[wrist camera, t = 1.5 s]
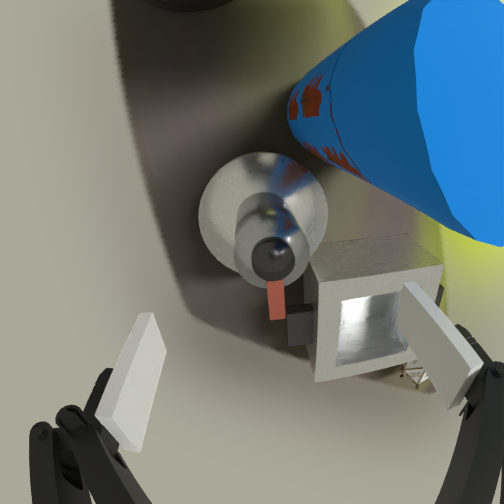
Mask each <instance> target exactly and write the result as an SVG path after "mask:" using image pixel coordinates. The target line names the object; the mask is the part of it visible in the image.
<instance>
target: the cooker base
mask: <svg viewBox="0 0 504 504" xmlns="http://www.w3.org/2000/svg"><path fill="white" fill-rule="evenodd" d="M443 265H444V264H443V263H442V262H441V261H440V260H438V259H437V258H436V257H435V256H434V255H433V254H431V253H430V252H429V251H428V250H426V249H425V248H424V247H423V246H422V245H420V244H419V243H418V242H417V241H415V240H414V239H413V238H412V237H410V236H409V235H408V234H405V235H396V236H386V237H377V238H367V239H358V240H349V241H339V242H330V243H320V245H319V246H318V248H317V249H316V251H315V252H314V253H313V254H312V256H311V257H310V258H309V262H308V265H307V267H306V269H305V271H304V272H303V304H300V305H292V306H285V311H286V331H287V342H288V347H292V346H300V345H306V349H307V353H308V357H309V361H310V365H311V369H312V373H313V377H314V382H321V381H327V380H333V379H337V378H343V377H348V376H353V375H358V374H363V373H367V372H372V371H376V370H380V369H384V368H388V367H392V366H396V365H400V364H403V363H407V362H410V361H414V360H417V357H416V356H415V354H414V352H413V351H412V349H411V348H410V346H409V344H408V343H407V341H406V340H405V338H404V337H403V335H402V333H401V332H400V330H399V329H398V327H397V326H396V324H395V323H396V318H397V313H398V308H399V303H400V298H401V292H402V287H403V283H407V282H413V281H415V282H416V283H417V284H418V285H419V286H420V288H421V289H422V290H423V291H424V292H425V293H426V294H427V295H428V296H429V297H430V298H431V300H432V301H433V302H434V303H435V304H436V305H437V306H438V307H439V305H440V302H441V298H442V294H443V290H444V287H443V286H442V285H441V284H440V279H441V275H442V270H443Z"/></svg>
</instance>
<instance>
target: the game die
mask: <svg viewBox="0 0 504 504" xmlns="http://www.w3.org/2000/svg"><path fill="white" fill-rule="evenodd" d="M402 371H403V374H402V375H400V377H403V376H405V377H406V378H408V379H409V380H411V381H412V382H414V383H415V384H416V389H418V388H419V386H418V385H419V384H421V383H422V382H424V381H425V380H427V379H429V377H428V375H427V374H426V372H425V370H424V369H423V367H422V365H421V364H420V362H419V360H418V359H417V360H414V361H410V362H407V363H403V364H402V369H400V372H402Z"/></svg>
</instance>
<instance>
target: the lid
mask: <svg viewBox="0 0 504 504" xmlns="http://www.w3.org/2000/svg"><path fill="white" fill-rule="evenodd" d="M198 219H199V227H200V231H201V235H202V237H203V240H204V242H205V244H206V246H207V248H208V249H209V250H210V252H211V253H212V254H213V256H214V257H215V258H216V259H217V260H218V261H220V262H221V263H222V264H223V265H225V266H226V267H228V268H230V269H231V270H234V271H236V272H238V273H239V274H240V275H241V276H242V277H243V278H244V279H245V280H246V281H247V282H248V283H250V284H252V285H254V286H256V287H260V288H265V289H267V295H268V306H269V316H270V320H277V319H285V300H284V286H287V285H289V284H291V283H292V282H294V281H295V280H297V279H298V278H299V277H300V276H301V275H302V273H303V272H304V271H305V269H306V267H307V265H308V262H309V258H310V257H311V256H312V254H313V253H314V252H315V251H316V249H317V248H318V246H319V245H320V243H321V241H322V239H323V237H324V234H325V231H326V227H327V222H328V206H327V201H326V197H325V194H324V192H323V189H322V187H321V185H320V184H319V182H318V181H317V179H316V178H315V177H314V175H313V174H312V173H311V172H310V171H309V170H308V169H307V168H305V167H304V166H303V165H301V164H300V163H298V162H297V161H295V160H293V159H291V158H290V157H287V156H285V155H282V154H278V153H274V152H253V153H248V154H244V155H241V156H239V157H237V158H234V159H232V160H231V161H229V162H228V163H226V164H225V165H224V166H222V167H221V168H220V169H219V170H218V171H217V172H216V173H215V174H214V175H213V177H212V178H211V180H210V181H209V183H208V185H207V186H206V188H205V190H204V192H203V195H202V198H201V201H200V206H199V216H198Z"/></svg>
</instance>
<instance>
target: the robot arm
mask: <svg viewBox="0 0 504 504" xmlns="http://www.w3.org/2000/svg"><path fill="white" fill-rule="evenodd" d="M148 1H150V2H151V3H153V4H154V5H156V6H159V7H161V8H164V9H168V10H174V11H198V10H204V9H209V8H213V7H217V6H220V5H223V4H225V3H228V2H230V1H232V0H148ZM395 324H396V326H397V327H398V329H399V330H400V332H401V333H402V335H403V337H404V338H405V340H406V341H407V343H408V344H409V346H410V348H411V349H412V351H413V352H414V354H415V356H416V357H417V359H418V360H419V362H420V364H421V365H422V367H423V369H424V370H425V372H426V374H427V375H428V377H429V379H430V381H431V382H432V384H433V386H434V387H435V389H436V391H437V393H438V394H439V396H440V398H441V400H442V401H443V403H444V405H445V407H446V409H447V410H449V409H451V408H453V407H455V406H457V405H459V404H460V403H461V401H462V400H463V398H464V397H466V399H467V400H468V401H467V403H466V404H465V406H464V408H463V409H462V410H461V412H460V414H459V416H461V415H462V413H463V412H464V414H463V419H462V423H461V427H460V432H459V435H458V439H457V443H456V446H455V450H454V453H453V456H452V459H451V463H450V466H449V469H448V472H447V474H446V477H445V480H444V483H443V485H442V488H441V491H440V493H439V495H438V498H437V500H436V502H435V504H491V503H492V500H493V497H494V494H495V490H496V486H497V482H498V478H499V474H500V470H501V465H502V478H501V479H502V481H501V497H500V504H504V363H501V362H496V361H495V362H493V361H492V360H491V359H490V358H489V356H488V355H487V354H486V352H485V351H484V350H483V349H482V347H481V346H480V345H479V344H478V343H477V342H476V340H475V339H474V338H472V335H471V334H470V333H469V332H468V331H467V330H466V329H465V328H464V327H462V326H461V325H459V324H457V325H453V324H452V322H451V321H450V320H449V319H448V318H447V317H446V315H445V314H444V313H443V312H442V311H441V310H440V309H439V307H438V306H437V305H436V304H435V303H434V302H433V301H432V300H431V298H430V297H429V296H428V295H427V294H426V293H425V292H424V291H423V290H422V289H421V288H420V286H419V285H418V284H417V283H416V282H415V281H413V282H407V283H403V287H402V292H401V298H400V303H399V308H398V313H397V318H396V323H395ZM166 353H167V350H166V348H165V345H164V342H163V340H162V337H161V334H160V331H159V329H158V326H157V323H156V320H155V317H154V314H153V312H146V313H139V315H138V317H137V319H136V321H135V323H134V325H133V327H132V330H131V332H130V334H129V336H128V338H127V340H126V342H125V344H124V347H123V349H122V351H121V353H120V356H119V358H118V360H117V363H116V365H115V367H114V368H106V369H105V370H104V371H103V372H102V373H101V374H100V375H99V377H98V379H97V381H96V383H95V386H94V388H93V390H92V393H91V395H90V397H89V399H88V401H87V404H86V406H85V409H84V411H82V410H81V409H80V407H78V406H76V405H68V406H65V407H63V408H62V409H60V411H59V412H58V413H57V415H56V424H57V425H58V426H59V427H60V428H52V427H51V426H50V424H49V423H47V422H38V423H36V424H35V425H34V426H33V427H32V429H31V430H30V435H29V465H30V482H31V483H30V484H31V495H32V504H92V502H91V498H90V494H89V491H90V493H91V495H92V496H93V499H94V501H95V503H96V504H152V503H151V501H150V500H149V499H148V498H147V496H146V494H145V493H144V491H143V490H142V488H141V487H140V485H139V484H138V483H137V481H136V479H135V478H134V476H133V475H132V473H131V471H130V470H129V468H128V466H127V465H126V463H125V461H124V460H123V458H122V456H121V454H120V453H119V452H118V451H117V450H118V447H119V444H120V445H121V447H122V448H123V449H125V450H126V451H133V452H141V449H142V445H143V440H144V436H145V432H146V428H147V424H148V420H149V416H150V412H151V408H152V404H153V400H154V396H155V393H156V388H157V385H158V381H159V378H160V374H161V370H162V367H163V363H164V360H165V356H166Z"/></svg>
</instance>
